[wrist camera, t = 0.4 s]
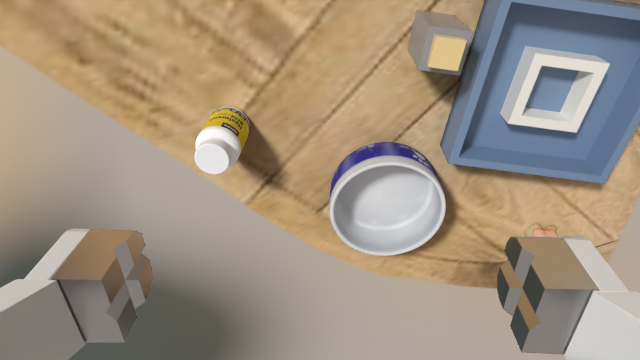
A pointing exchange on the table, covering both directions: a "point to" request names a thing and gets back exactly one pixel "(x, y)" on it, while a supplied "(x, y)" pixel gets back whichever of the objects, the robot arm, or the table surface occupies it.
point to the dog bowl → (386, 199)
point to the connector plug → (439, 42)
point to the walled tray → (548, 89)
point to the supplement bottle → (221, 140)
